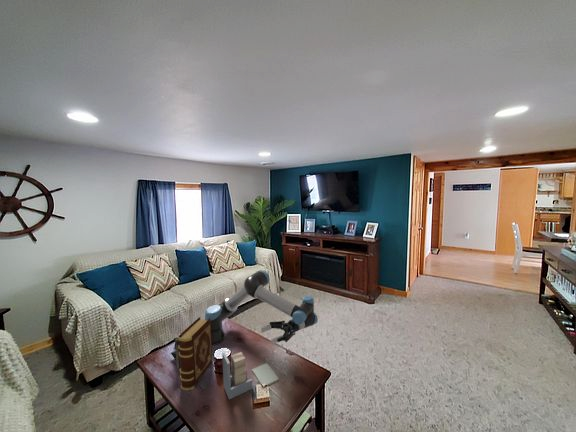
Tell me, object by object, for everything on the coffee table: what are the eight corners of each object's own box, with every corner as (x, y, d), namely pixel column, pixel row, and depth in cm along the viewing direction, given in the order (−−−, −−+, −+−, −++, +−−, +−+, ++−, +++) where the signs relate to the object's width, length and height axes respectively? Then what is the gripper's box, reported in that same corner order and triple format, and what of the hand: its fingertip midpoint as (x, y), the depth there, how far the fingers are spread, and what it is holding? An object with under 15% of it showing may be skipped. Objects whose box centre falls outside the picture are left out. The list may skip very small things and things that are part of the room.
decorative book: (191, 391, 127) (188, 339, 124) (178, 389, 129) (175, 338, 126) (212, 362, 149) (210, 317, 146) (201, 360, 151) (199, 316, 148)
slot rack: (223, 387, 130) (222, 353, 128) (246, 377, 137) (245, 344, 135) (229, 399, 122) (227, 363, 120) (252, 388, 129) (251, 354, 127)
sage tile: (252, 370, 142) (252, 369, 142) (266, 364, 147) (266, 363, 147) (262, 387, 129) (262, 386, 129) (278, 380, 134) (278, 378, 134)
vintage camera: (185, 352, 160) (182, 324, 158) (194, 362, 149) (192, 332, 147) (170, 359, 153) (167, 330, 151) (178, 371, 142) (176, 340, 140)
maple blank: (232, 386, 131) (230, 355, 129) (242, 381, 134) (241, 351, 132) (235, 393, 126) (234, 362, 124) (246, 388, 129) (245, 358, 127)
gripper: (307, 340, 139) (276, 353, 128) (286, 321, 161) (257, 331, 149) (307, 328, 139) (276, 340, 128) (285, 311, 160) (257, 320, 149)
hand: (266, 335), depth 138 cm, fingers open, 13 cm apart
